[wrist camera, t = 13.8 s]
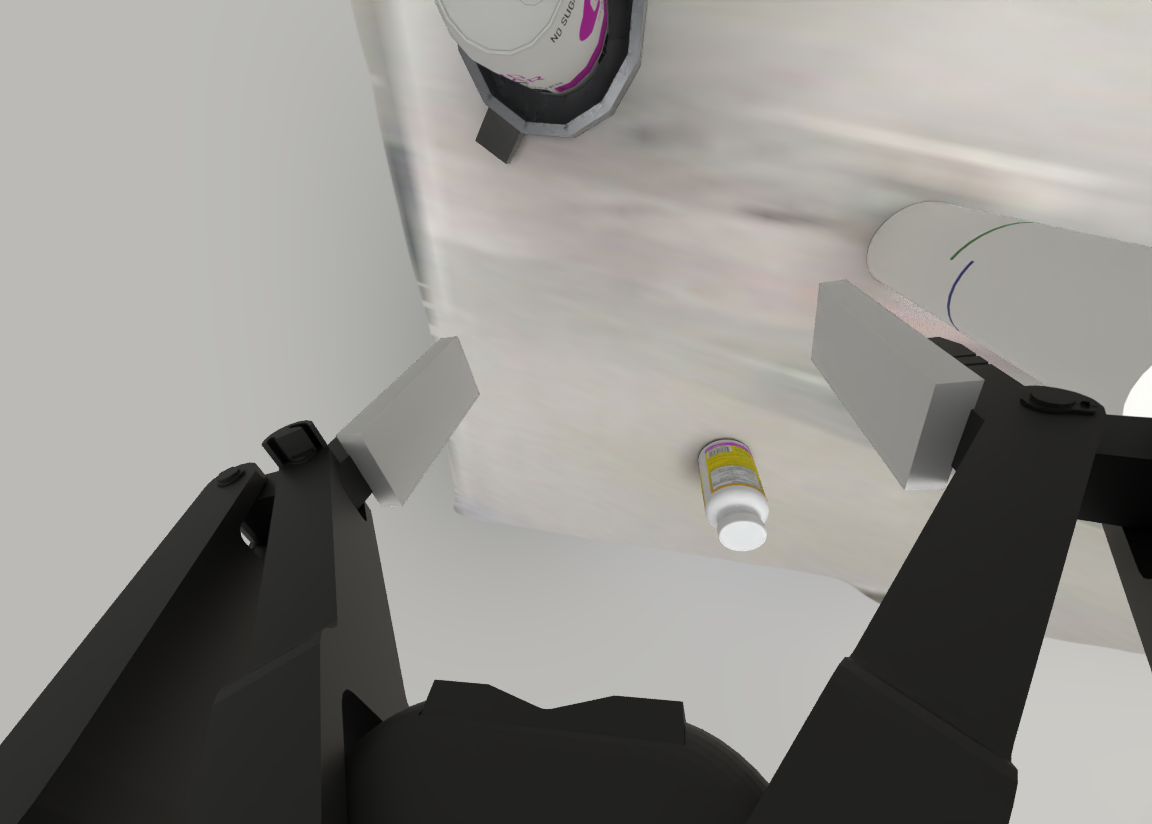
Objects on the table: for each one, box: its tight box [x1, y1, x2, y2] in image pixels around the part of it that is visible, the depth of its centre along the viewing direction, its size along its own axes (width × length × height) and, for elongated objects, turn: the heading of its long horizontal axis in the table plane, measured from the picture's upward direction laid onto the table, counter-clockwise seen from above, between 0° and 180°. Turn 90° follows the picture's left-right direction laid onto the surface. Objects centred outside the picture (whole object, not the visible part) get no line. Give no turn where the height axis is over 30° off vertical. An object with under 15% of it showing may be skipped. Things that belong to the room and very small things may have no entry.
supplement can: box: [435, 0, 610, 96], centre depth 25 cm, size 8×8×15 cm
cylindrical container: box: [867, 201, 1152, 418], centre depth 26 cm, size 7×7×25 cm
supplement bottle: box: [698, 440, 769, 551], centre depth 47 cm, size 7×7×13 cm
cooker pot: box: [458, 0, 647, 164], centre depth 31 cm, size 19×14×4 cm
